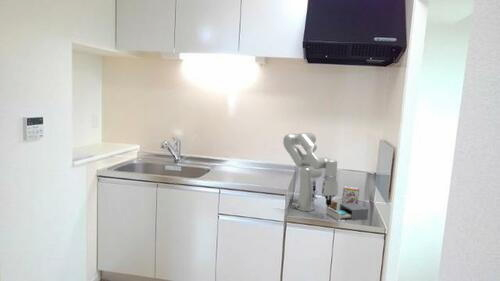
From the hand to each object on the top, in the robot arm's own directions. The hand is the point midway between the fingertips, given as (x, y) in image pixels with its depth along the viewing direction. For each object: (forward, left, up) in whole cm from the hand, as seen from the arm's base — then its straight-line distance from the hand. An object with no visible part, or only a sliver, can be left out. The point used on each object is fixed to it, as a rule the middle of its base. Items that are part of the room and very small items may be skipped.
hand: (328, 204), depth 220 cm
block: (+14, +17, -10) cm, 24 cm away
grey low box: (+22, +3, -10) cm, 24 cm away
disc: (+11, +2, -7) cm, 13 cm away
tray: (+11, +2, -9) cm, 15 cm away
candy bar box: (+29, +17, -10) cm, 35 cm away
